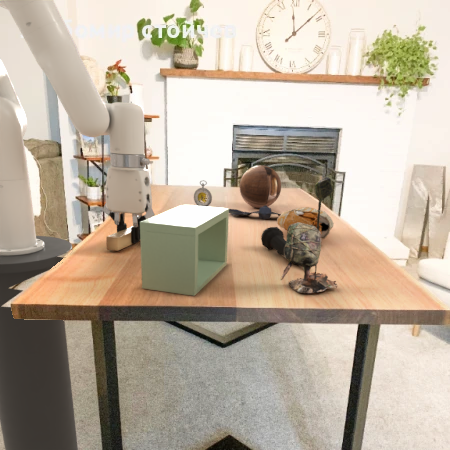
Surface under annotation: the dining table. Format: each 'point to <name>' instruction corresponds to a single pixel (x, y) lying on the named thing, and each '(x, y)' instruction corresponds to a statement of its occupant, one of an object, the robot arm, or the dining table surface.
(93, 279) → the dining table surface
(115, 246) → the stick
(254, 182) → the wooden sphere
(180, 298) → the dining table surface
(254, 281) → the dining table surface
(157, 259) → the shelf
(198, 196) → the pocket watch
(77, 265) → the dining table surface
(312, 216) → the nautilus
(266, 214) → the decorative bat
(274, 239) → the microphone
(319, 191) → the plant with pod
